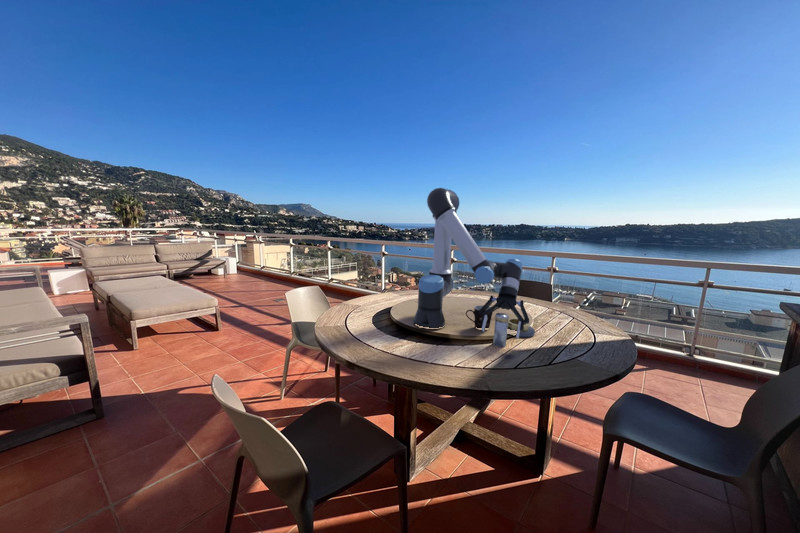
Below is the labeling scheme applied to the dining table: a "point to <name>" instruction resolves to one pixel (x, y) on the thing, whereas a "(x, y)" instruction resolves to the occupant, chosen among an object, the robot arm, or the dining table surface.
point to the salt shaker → (500, 329)
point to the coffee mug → (480, 317)
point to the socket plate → (527, 329)
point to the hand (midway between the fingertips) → (499, 333)
